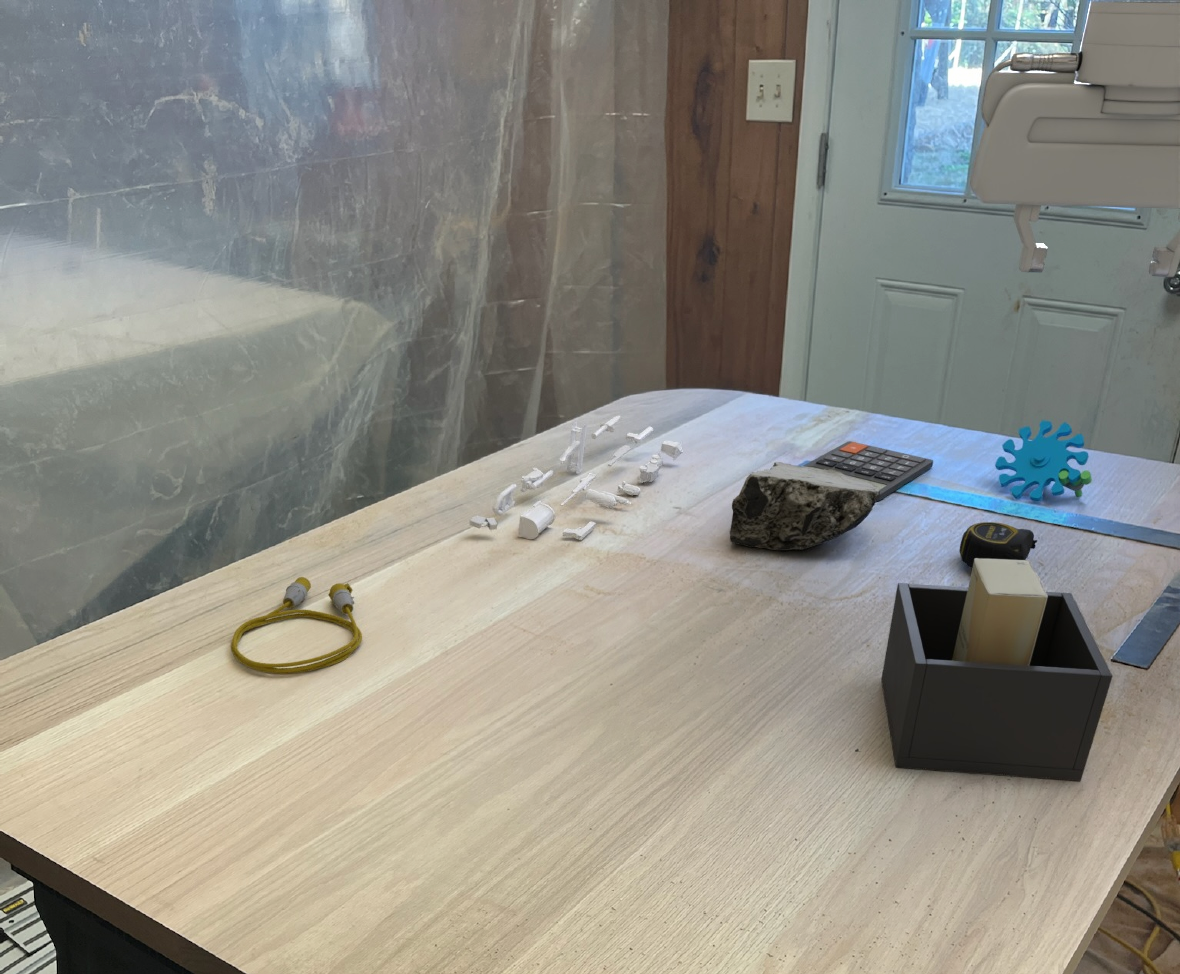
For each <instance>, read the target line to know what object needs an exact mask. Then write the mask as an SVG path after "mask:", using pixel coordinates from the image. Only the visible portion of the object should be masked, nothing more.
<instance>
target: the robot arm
mask: <svg viewBox="0 0 1180 974" xmlns="http://www.w3.org/2000/svg"><path fill="white" fill-rule="evenodd" d="M1008 67H1009V69H1010V71H1003V70H1004V69H1005V68H1008ZM982 93H983V94H982V100H981V105H980V112H981V118H982V120H983V122H984V126H983V130H982V133H981V136H980V139H979V142H978V147H977V150H976V155H975V157H974V161H973V165H972V170H971V175H970V181H969V184H970V185H969V186H970V189H971V191H972V193H973V195H974V196H975V197H976V199H977V200H979V202H981V203H983V204H987V205H993V204H994V205H1015V206H1014V212H1013V217H1012V218H1013V220H1014V223H1015V226H1016V229H1017V233H1018V235H1019V239H1020V241H1021V243H1022V248H1021V253H1020V259H1019V265H1018V269H1019V271H1020V272H1021V273H1043V272H1044V270H1045V269H1044V268H1045V262H1044V260H1045V259H1046V258H1047V255H1048V250H1049V247H1048V246H1046V245H1045V244H1044V243H1037V242H1036V239H1035V236H1034V233H1033V230H1032V226H1031V223H1036V222H1038V221H1039V218H1040V212H1041V209H1042V206H1063V207H1096V208H1097V207H1098V208H1099V207H1100V208H1102V207H1103V208H1131V209H1132V208H1133V209H1134V208H1135V209H1137V208H1138V209H1169V210H1171V209H1172V210H1173V209H1175V210H1180V0H1090V1H1089V6H1088V11H1087V16H1086V22H1085V26H1084V30H1083V34H1082V40H1081V44H1080V48H1079V52H1053V53H1040V54H1038V53H1033V52H1027V51H1026V52H1017V53H1014V54H1012V56H1011V58H1009V59H1006V60H1003V61H1002V62H999V63H998V64H997V65H995V66H994V68H993V69H992V70H991V71H990V72H989V74H988V76H987V78H986V80H985V83H984V88H983V92H982ZM1177 221H1178V222H1180V212H1179V214H1178V217H1177ZM1151 258H1152V260H1151V262H1150V263H1149V266H1148V274H1149V275H1151V276H1152V277H1162V278H1174V277H1175V276H1176V274H1177V271H1178V267H1179V264H1180V229H1178V231H1177V232H1176V233H1175V235H1174V236H1173V237H1172V238H1171V240H1169V242H1168V243H1167V245H1165V246H1154V248H1153V251H1152V254H1151Z"/></svg>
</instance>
